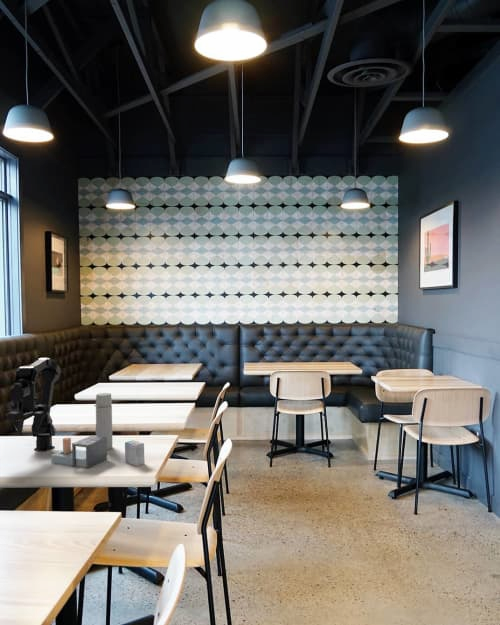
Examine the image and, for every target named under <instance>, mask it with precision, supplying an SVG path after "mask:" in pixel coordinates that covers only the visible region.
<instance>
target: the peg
mask: <svg viewBox="0 0 500 625" xmlns="http://www.w3.org/2000/svg"><path fill="white" fill-rule="evenodd" d="M71 439H72V438H71V437H63V438H62V451H63V454H64V455H69V454H71V449H72V440H71Z"/></svg>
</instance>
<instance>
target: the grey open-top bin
mask: <svg viewBox="0 0 500 625" xmlns="http://www.w3.org/2000/svg"><path fill="white" fill-rule="evenodd" d="M77 447H80V448H85V451H86V467H85V468H86V469H91V468H93V467H94V466H97V465H99V464H101V463H103V462H105V461H107V460H108V450H107V437H98V436H96V435H89V436H87V437H84V438H81V439H80V440H77V441H74V442H71V449H72V465H71V466H72V467H77V466H76V450H77Z"/></svg>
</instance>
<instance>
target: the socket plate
mask: <svg viewBox="0 0 500 625" xmlns="http://www.w3.org/2000/svg"><path fill="white" fill-rule="evenodd" d="M50 462H51V463H53V464H60V465H61V464H62V465H68V466H72V448H71V454H69V455H64V454H63V450H60V451H58V452H56V453H52V454H51V455H50ZM75 467H82V468H83V467H84V468H86V450H82V449H76V466H75Z"/></svg>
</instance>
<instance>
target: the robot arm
mask: <svg viewBox="0 0 500 625" xmlns="http://www.w3.org/2000/svg"><path fill="white" fill-rule="evenodd" d="M61 370H62V368H61V367H60V365H59V363H57V362H55V361H54V360H52V358H50V357H40V358H38V360H35V361H34V362H33V363H31V364H29V365H23V366H19V367H18V369H17V370H16V373H15V376H14V380H13V384H14V387H12V388H11V389H10V391H9V397H10V398H11V400H13V401H15V402H16V401H17V402H16V403H14V402H13V401H11V402H8V403H7V404H6V410H7V411H9V412H7V413H6V414H5V421H8V422H11V423H12V424H13V426H14V427H15V430H16V432H17V435H19V436H22V434H23V428H24V424H25V423H24V422H25V419H24V416H28V415H31V414H32V415H33V418H32V419H33V421H32V424H31V433H32V438H34V437H35V438H36V440H35V446H36V447H35V448H33V450H34V451H41V452H47V451H49V450H51V449H54V448H56V447H55V445H53V436H56V427H55V426H54V424H53V419H52V416H51V415H50V414H51V408H52V403H53V402H52V401H53V394H54V387H55V383H57V381H58V380H59V379H60V375H61V372H62V371H61ZM39 374H40V379H41V381H42V383H43V384H42V388H41V390H42V391H41V395H40V396H41V397H40V401H39V404H37V405H36V401H38V397H36V383H37V378H38V376H39Z"/></svg>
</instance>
